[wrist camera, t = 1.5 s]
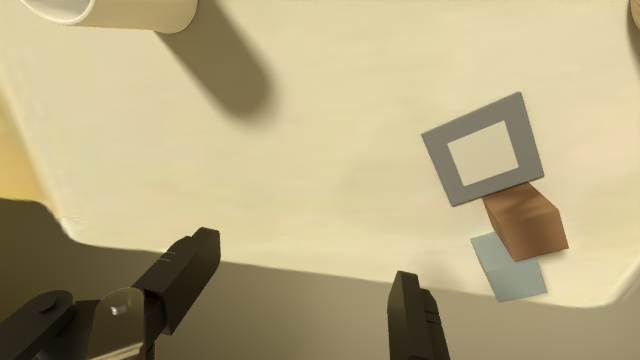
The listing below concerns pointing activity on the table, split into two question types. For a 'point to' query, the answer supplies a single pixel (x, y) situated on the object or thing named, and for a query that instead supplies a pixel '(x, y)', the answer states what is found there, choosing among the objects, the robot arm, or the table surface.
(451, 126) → the pad
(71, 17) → the mug
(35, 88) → the table surface
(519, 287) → the blue grey block
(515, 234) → the walnut block
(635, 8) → the planter
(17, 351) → the robot arm
